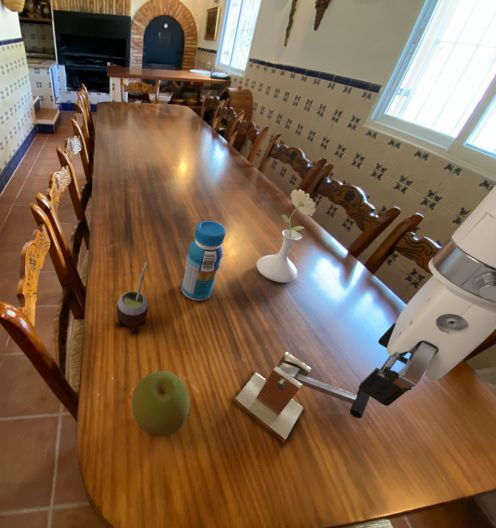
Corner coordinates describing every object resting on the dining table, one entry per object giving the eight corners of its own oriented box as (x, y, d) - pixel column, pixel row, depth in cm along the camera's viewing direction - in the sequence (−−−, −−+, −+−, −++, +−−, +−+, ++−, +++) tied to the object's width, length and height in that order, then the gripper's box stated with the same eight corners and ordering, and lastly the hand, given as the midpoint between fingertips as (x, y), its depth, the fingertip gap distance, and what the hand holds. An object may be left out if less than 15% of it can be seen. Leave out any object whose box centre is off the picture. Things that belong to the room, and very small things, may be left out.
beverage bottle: (174, 292, 79) (186, 228, 66) (189, 276, 85) (203, 214, 72) (202, 307, 75) (220, 242, 63) (216, 289, 81) (235, 226, 68)
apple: (160, 380, 59) (166, 347, 52) (196, 419, 54) (208, 389, 47) (119, 412, 54) (120, 380, 47) (155, 459, 48) (162, 431, 41)
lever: (371, 398, 44) (371, 385, 43) (361, 422, 41) (362, 410, 40) (286, 368, 52) (285, 357, 52) (274, 386, 50) (272, 375, 49)
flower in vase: (301, 286, 84) (344, 208, 68) (262, 286, 83) (297, 206, 67) (282, 258, 94) (316, 184, 78) (248, 257, 93) (275, 182, 78)
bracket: (301, 410, 56) (332, 374, 48) (283, 442, 52) (314, 408, 43) (253, 375, 61) (274, 336, 53) (233, 401, 57) (253, 364, 49)
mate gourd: (119, 337, 67) (120, 289, 57) (114, 311, 72) (113, 263, 63) (151, 332, 68) (157, 284, 59) (143, 307, 74) (147, 260, 65)
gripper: (553, 349, 21) (402, 444, 31) (536, 252, 31) (426, 349, 41) (424, 292, 24) (329, 394, 35) (447, 223, 35) (367, 319, 45)
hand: (382, 370), depth 38 cm, fingers open, 9 cm apart
